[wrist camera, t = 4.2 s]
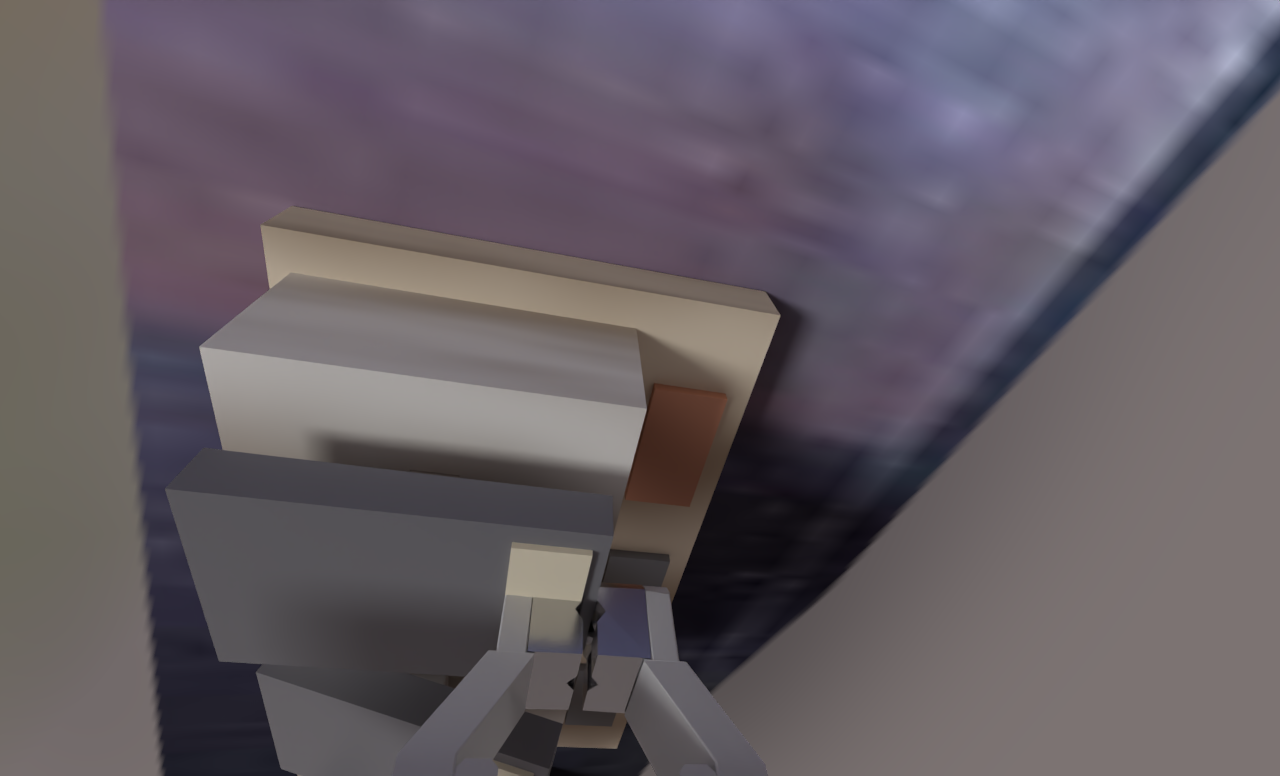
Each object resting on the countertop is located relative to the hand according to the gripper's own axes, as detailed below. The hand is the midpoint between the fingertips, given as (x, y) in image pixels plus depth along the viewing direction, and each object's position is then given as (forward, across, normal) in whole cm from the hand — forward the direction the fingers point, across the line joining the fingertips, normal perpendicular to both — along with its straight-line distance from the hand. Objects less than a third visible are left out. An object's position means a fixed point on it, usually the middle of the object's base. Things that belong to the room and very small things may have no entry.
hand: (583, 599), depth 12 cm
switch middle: (0, +3, +6) cm, 7 cm away
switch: (0, +3, 0) cm, 3 cm away
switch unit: (+7, +2, +6) cm, 9 cm away
